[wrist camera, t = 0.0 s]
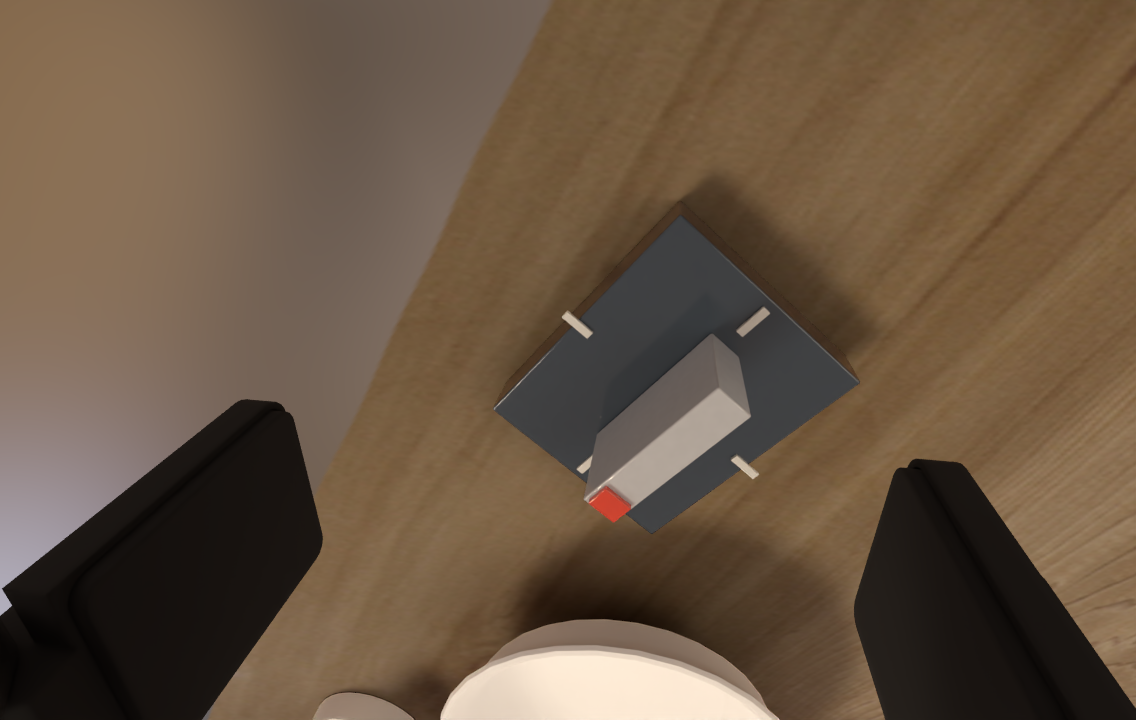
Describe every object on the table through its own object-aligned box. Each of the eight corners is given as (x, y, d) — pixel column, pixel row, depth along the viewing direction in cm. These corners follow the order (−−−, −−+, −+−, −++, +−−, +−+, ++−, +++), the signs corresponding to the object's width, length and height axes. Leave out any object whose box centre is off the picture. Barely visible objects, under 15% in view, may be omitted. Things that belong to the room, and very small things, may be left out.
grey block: (711, 331, 24) (718, 391, 20) (739, 357, 24) (753, 420, 20) (596, 434, 27) (581, 504, 23) (622, 455, 27) (612, 528, 23)
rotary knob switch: (669, 189, 24) (668, 204, 22) (855, 363, 26) (872, 394, 24) (495, 375, 29) (480, 403, 27) (661, 508, 31) (660, 544, 29)
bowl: (470, 523, 34) (430, 616, 28) (830, 584, 32) (862, 698, 26) (472, 730, 43) (442, 830, 38) (751, 788, 41) (762, 904, 36)
